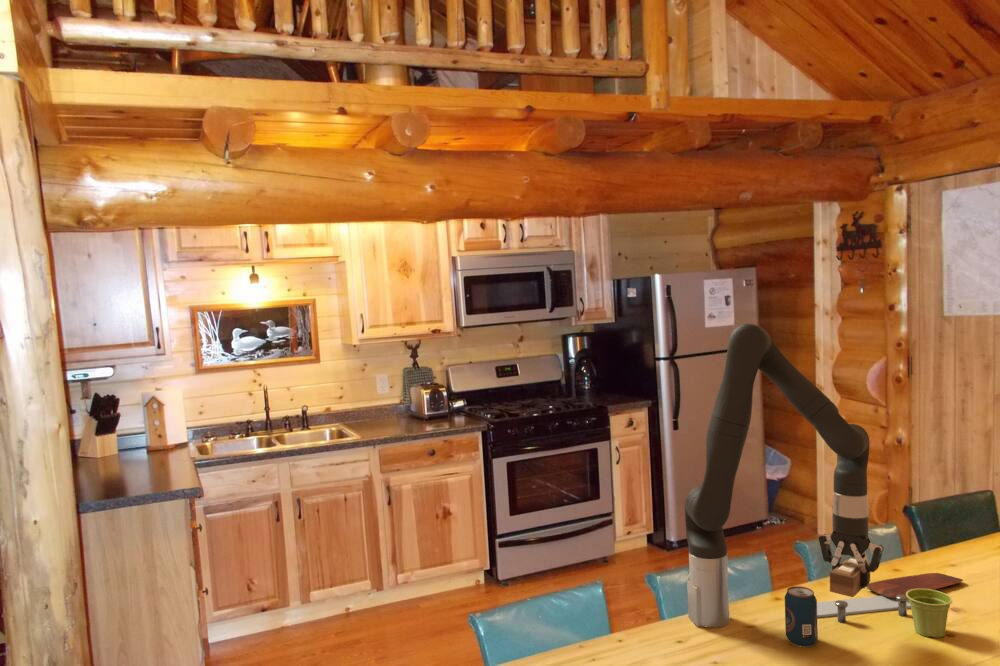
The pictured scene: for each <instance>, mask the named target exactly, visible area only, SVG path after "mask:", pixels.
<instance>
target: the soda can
mask: <svg viewBox="0 0 1000 666" xmlns="http://www.w3.org/2000/svg"><path fill="white" fill-rule="evenodd" d="M817 602H818V599H817V598H816V596H815V592H814V590H812V589H811V588H808V587H805V586H798V585H797V586H791V587H788V588H787V590H786V593H785V595H784V621H785V624H784V625H785V628H784V629H785V637H786V638H787V640H788V641H789V643H790V644H791V643H792V645H793V644H794V645H793V646H795V645H796V647H799V646H801V647H800V648H810V647H813V646H815V644H816V643H817V642H818V638H819V636H818V634H819V632H818V629H819V628H818V618H817Z"/></svg>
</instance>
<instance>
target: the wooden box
mask: <svg viewBox="0 0 1000 666" xmlns="http://www.w3.org/2000/svg"><path fill="white" fill-rule="evenodd" d="M868 564H869V565H870V564H871V562H869V561H868ZM860 572H861V569H860V567H859V564H858V563H857V561H856V559H855V558H853V557H851V558H849V557H848V558H846V559H845V560H843V562H840V565H839V566H837V567H836V568H835V569H834V570H833V571H832V570H831V571H830V572H829V592H831V593H833V594H839V595H842V596H846V597H850V598H854V597H855V596H856V595H857V594H859V592H861V591H862V590H863V588H861V587H860ZM869 583H871V572H869Z"/></svg>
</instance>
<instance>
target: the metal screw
mask: <svg viewBox="0 0 1000 666" xmlns="http://www.w3.org/2000/svg"><path fill="white" fill-rule="evenodd" d="M837 600H838V601H835V605H836V606H837V609H838V616H837V621H838V622H839V623H841V624H844V623H846V622H847V619H846V618H847V617H846V616H847V615H846V607H848V603H847V602H845V601H840V600H841V599H837Z"/></svg>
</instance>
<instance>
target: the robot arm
mask: <svg viewBox="0 0 1000 666" xmlns="http://www.w3.org/2000/svg"><path fill="white" fill-rule="evenodd" d="M778 347H779V346H777V345H776V343H775V342H774V340H773V339H772V337H771V336H770V334H769V333H768V331H767V330H766V329H765V328H763V327H761V326H759V325H756V324H753V323H743V324H740V325H739V326H737V327H735V328H734V329H733V331H732V332H731V334H730V335H729V338H728V344H727V352H726V357H725V364H724V371H723V377H722V378H721V379H722V380H721V383H720V385H719V389H718V391H717V395H716V398H715V401H714V405H713V408H712V412H711V415H710V418H709V423H708V427H707V432H706V438H705V471H704V476H703V480H702V483H701V485H699V486H696V487H693V488H692V489H691V490H690V491H689V492H688V493H687V495H686V498H685V501H684V518H685V519H684V520H685V535H686V540H687V545H688V561H689V562H688V565H689V579H687V581H686V587H687V588H686V589H687V590H686V591H687V615H688V618H689V619H690V620H691V621H692V622H693V623H694V625H695V624H696V625H697V626H696V625H695V626H696V627H704V626H707V627H706V628H710V627H716V628H722V627H724V626H728V624H729V622H730V604H729V602H730V601H729V597H730V596H729V569H728V565H729V564H728V544H727V540H726V537H725V534H724V529H723V526H725V524H726V522H727V521H728V519H729V517H730V512H731V505H732V498H733V492H734V485H735V480H736V476H737V475H736V474H737V471H738V469H739V466H740V462H741V458H742V454H743V451H744V447H745V444H746V440H747V436H748V433H749V429H750V425H751V420H752V412H753V411H752V410H753V397H754V396H753V394H754V393H753V392H754V384H755V380H756V377H757V374H758V371H760V372H762V373H763V374H764V375H765V376H766V377H767V378H768V379H769V380H770V381H771V382H772V383H773V384H774V385H775V387H777V388H778V390H779V391H780V392H781V393H782V395H783V396H784V397H785V398H786V400H787V401H788V402H789V403H790V405H792V406H793V407H794V409H795V410H796V411H797V412H798V413H800V414H801V416H802V417H803V418H804V419H805V420H806V421H808V423H809V424H810V425H812V426H813V427H814V428H815V430H816V432H817V433H818V434H819V436H820V437H821V438H822V440H823V442H825V444H826V445H827V446H828V447H829V448H830V450H832V451H833V452H834V453H835V454H836V466H835V468H834V472H833V495H832V505H831V510H832V532H831V534H827V533H823V534H821V535H819V536H818V541H819V545H820V551H821V554H822V559H823V561H824V562H825V563H830V565H831V571H833V570H834V569H835V568H836V567H837V566H839V565H840V564H841V561H842V559H843V556H850V557H851V558H854V559H856V561H857V563H858V564H859V567H860V569H861V572H860V587H861V588H862V589H865V588H866V586H867V585H868V584H869V583H870V582H869V572H870V573H875V571H877V570H878V569H879V566H880V562H881V560H882V555H883V551H884V546H883V545H881V544H878V545H877V544H875V543H872V542H871V539H870V537H869V531H870V530H869V525H870V524H869V521H870V520H869V519H870V518H869V516H870V515H869V507H870V506H869V498H868V464H869V455H870V437H869V434H868V432H867V430H866V429H865V428H863V427H862V426H861V425H860V424H855V423H848V421H846V419H845V418H843V416H842V415H841V414H840V412H839V408H838V407H837V405H836V404H835V403H834V402H833V401H831V399H830V398H829V397H828V396H827V395H825V393H823V391H822V390H821V389H819V387H817V386H816V385H815V383H813V382H812V381H811V380H809V379H808V378H807V377H806V376H805V375H804V374H803V373H801V372H800V371H799V369H797V368H796V367H795V366H794V365H793V364H792V362H790V361H789V359H787V358H786V356H785V355H784V354H783V352H782V351H781V350H780V349H779V348H778ZM831 543H833V545H834V547H835V548H836V549H835V552H834V553H832V548H831V545H830V544H831ZM868 549H870V553H871V554H872V557H871V561H870V565H869V564H868V562H869V561H868V556H867V552H866V551H867V550H868Z"/></svg>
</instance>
